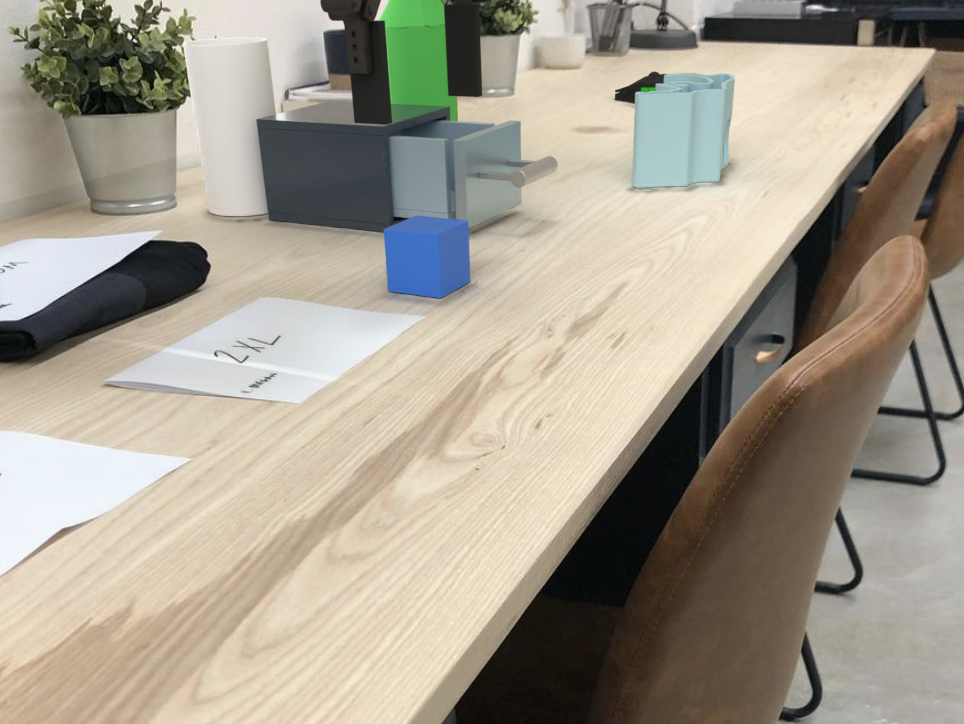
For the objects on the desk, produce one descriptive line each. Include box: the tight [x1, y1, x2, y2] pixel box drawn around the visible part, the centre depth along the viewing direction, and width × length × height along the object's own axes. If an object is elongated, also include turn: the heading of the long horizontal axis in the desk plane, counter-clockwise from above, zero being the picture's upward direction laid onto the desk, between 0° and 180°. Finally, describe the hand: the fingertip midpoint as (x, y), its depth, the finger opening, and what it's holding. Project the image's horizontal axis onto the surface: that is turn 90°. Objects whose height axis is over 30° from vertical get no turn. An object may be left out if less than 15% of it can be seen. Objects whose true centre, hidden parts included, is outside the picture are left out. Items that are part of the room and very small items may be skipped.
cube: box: [383, 216, 471, 299], centre depth 90 cm, size 5×5×5 cm
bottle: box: [378, 0, 459, 121], centre depth 128 cm, size 9×9×25 cm
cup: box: [182, 36, 277, 217], centre depth 114 cm, size 8×8×16 cm
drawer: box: [387, 119, 558, 229], centre depth 108 cm, size 18×11×8 cm, turn 62°
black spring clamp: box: [614, 71, 667, 104], centre depth 174 cm, size 11×16×4 cm
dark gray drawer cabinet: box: [256, 100, 450, 233], centre depth 112 cm, size 15×13×10 cm
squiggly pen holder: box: [631, 72, 736, 189], centre depth 125 cm, size 18×10×9 cm, turn 167°
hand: (422, 109), depth 84 cm, fingers open, 13 cm apart
